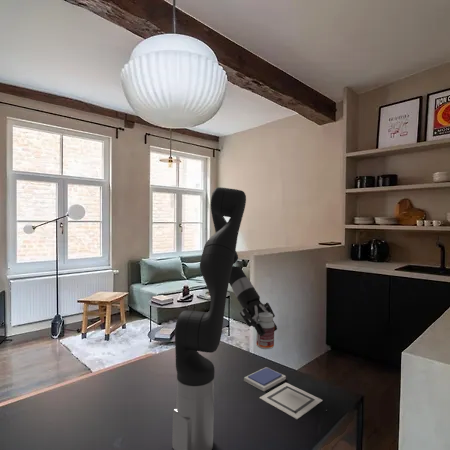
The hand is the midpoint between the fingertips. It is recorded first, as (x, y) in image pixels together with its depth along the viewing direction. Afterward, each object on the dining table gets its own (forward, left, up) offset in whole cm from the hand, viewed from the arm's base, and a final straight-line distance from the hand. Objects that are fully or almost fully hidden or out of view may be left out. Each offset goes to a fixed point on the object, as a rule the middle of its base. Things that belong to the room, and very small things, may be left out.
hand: (269, 332), depth 108 cm
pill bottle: (0, +2, -6) cm, 6 cm away
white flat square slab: (-3, -12, -17) cm, 21 cm away
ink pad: (0, +1, -17) cm, 17 cm away
